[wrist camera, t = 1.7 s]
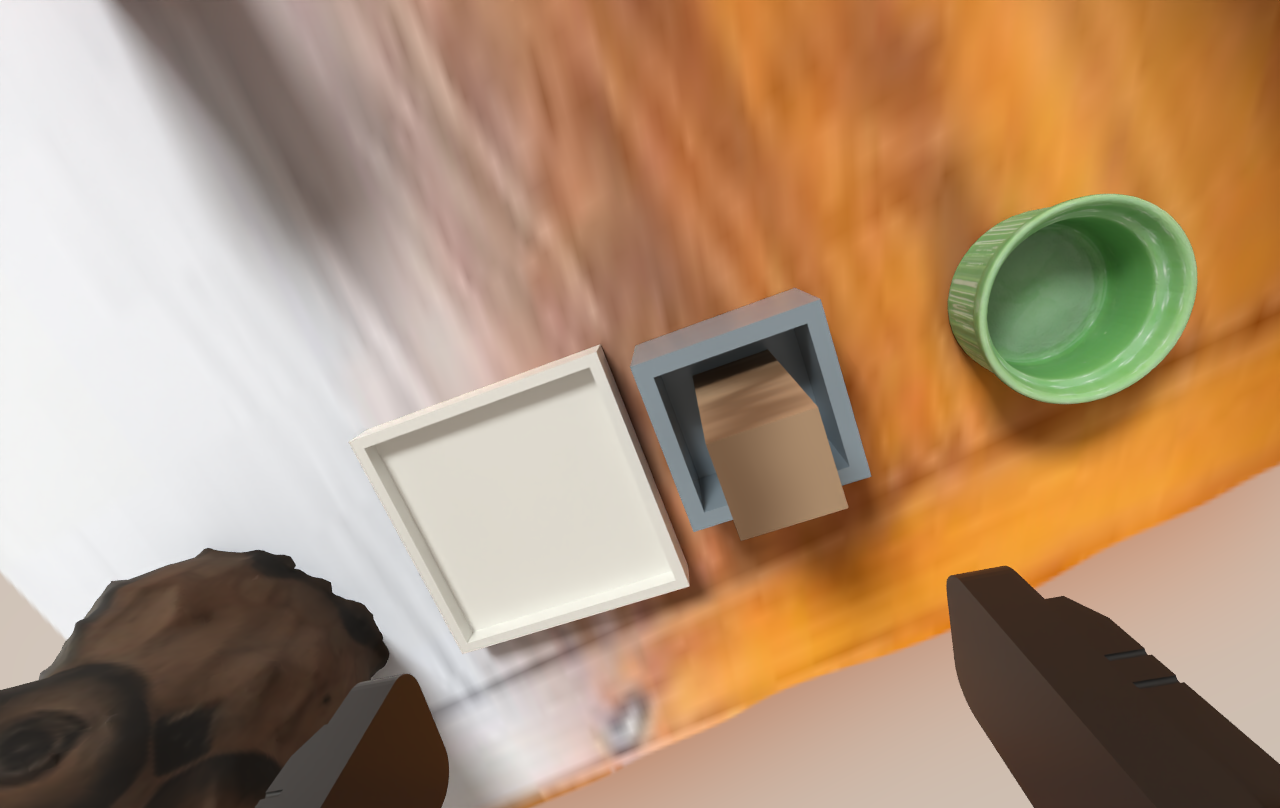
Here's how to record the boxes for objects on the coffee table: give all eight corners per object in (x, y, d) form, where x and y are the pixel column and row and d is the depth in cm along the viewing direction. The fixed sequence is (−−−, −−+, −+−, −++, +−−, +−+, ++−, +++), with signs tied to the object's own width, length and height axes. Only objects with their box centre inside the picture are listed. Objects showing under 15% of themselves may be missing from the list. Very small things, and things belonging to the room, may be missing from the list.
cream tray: (600, 344, 31) (596, 351, 29) (688, 566, 34) (689, 586, 32) (367, 429, 33) (348, 441, 31) (473, 631, 36) (462, 654, 34)
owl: (180, 529, 35) (-406, 893, 16) (389, 533, 34) (46, 913, 15) (223, 702, 39) (-211, 1168, 19) (412, 707, 38) (159, 1191, 19)
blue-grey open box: (795, 287, 30) (820, 299, 25) (840, 439, 32) (871, 476, 27) (635, 345, 31) (630, 367, 26) (689, 488, 33) (693, 531, 28)
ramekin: (1019, 414, 31) (1075, 443, 27) (896, 308, 30) (935, 321, 26) (1160, 279, 29) (1245, 287, 25) (1035, 158, 28) (1101, 145, 23)
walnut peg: (767, 349, 29) (817, 407, 20) (790, 420, 30) (848, 508, 21) (692, 375, 30) (705, 444, 20) (717, 444, 31) (740, 541, 21)
